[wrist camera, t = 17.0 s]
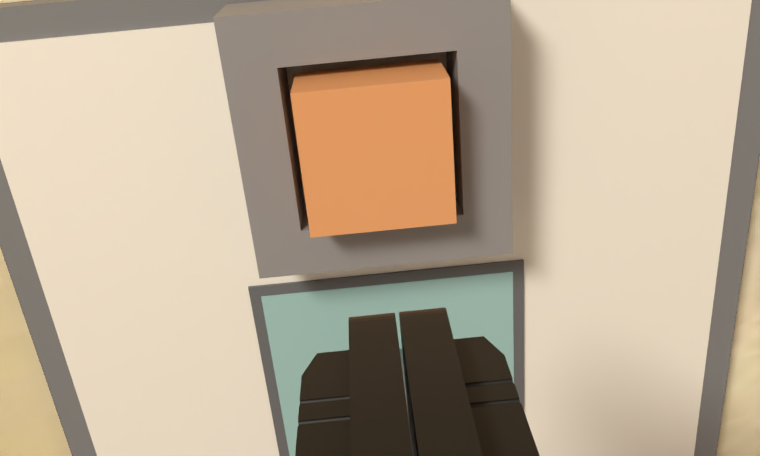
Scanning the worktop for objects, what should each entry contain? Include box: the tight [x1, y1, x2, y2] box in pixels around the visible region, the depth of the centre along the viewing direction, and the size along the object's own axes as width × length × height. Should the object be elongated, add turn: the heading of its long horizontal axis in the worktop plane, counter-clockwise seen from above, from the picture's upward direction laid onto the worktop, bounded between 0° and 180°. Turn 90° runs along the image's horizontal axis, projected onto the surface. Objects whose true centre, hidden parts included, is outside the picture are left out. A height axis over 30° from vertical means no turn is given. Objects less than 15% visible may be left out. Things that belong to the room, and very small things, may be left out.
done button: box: [290, 59, 457, 238], centre depth 21 cm, size 4×4×2 cm
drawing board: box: [0, 0, 760, 456], centre depth 26 cm, size 22×26×4 cm
